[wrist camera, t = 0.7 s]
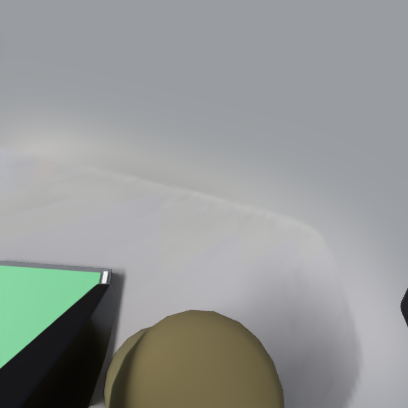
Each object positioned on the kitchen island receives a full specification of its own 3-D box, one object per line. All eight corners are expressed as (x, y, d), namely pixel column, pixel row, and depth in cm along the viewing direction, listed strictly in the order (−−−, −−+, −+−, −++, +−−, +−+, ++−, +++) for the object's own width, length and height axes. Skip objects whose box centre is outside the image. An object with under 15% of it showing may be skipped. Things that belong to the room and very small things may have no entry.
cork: (215, 336, 18) (318, 312, 9) (198, 457, 15) (329, 614, 6) (124, 315, 17) (132, 265, 8) (85, 438, 14) (29, 586, 5)
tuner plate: (89, 406, 15) (87, 409, 14) (-67, 411, 13) (-78, 414, 13) (111, 272, 18) (111, 268, 18) (-10, 263, 17) (-16, 258, 16)
